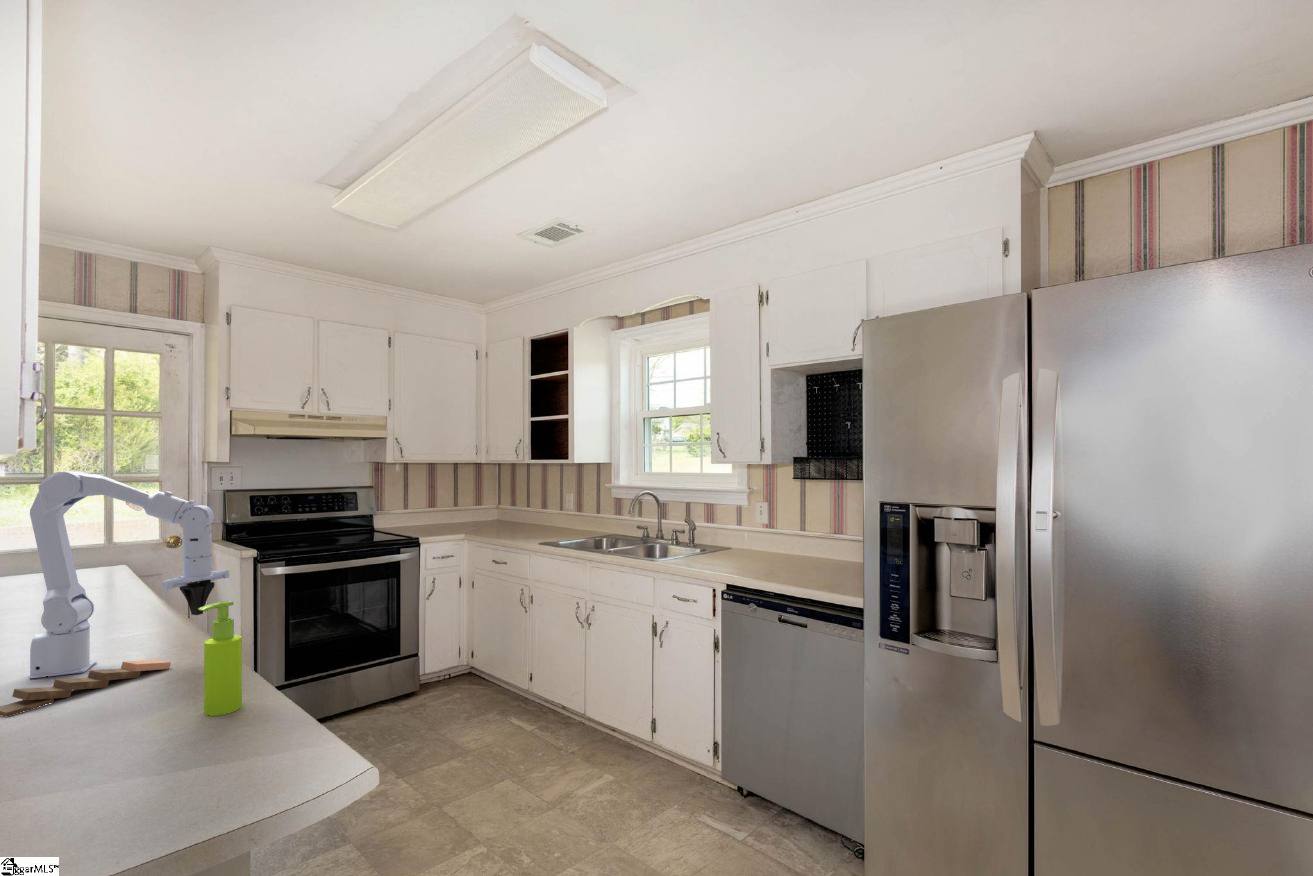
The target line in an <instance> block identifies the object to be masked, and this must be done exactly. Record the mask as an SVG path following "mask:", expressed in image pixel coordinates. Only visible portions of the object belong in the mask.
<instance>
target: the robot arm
mask: <svg viewBox="0 0 1313 876" xmlns="http://www.w3.org/2000/svg"><path fill="white" fill-rule="evenodd" d="M92 496H106V497H110V498H112V499H115V500H118V501H119V500H120V501H123V502H125V503H129V504H131V505H135V506H138V507H139V506H140V507H142V508H143V510H144V512H145V514H146V515H147V516H150V517H154V518H157V519H159V520H163V521H165V522H169V523H172V524H173V525H178V524H179V526H180V527H181V528H182V540H181V541H182V543H181V544H182V548H181V549H182V554H181V555H182V556H181V557H182V558H181V559H182V560H181V562H182V563H181V564H182V566H181V567H182V568H181V569H182V575H180V576H177V577H173V578H169V579H165V580H162V582H161V583H162V585H161V589H162V590H167V591H168V590H172V589H175V588H179V590H180V592H181V593H182V594H183V596H184V598H185V600H186V602H187V603H188V608H189V610H190V614H191V615H193V616H199V615H203V614H204V611H200V610H198V608H200V607H203V606H205V605H207V601H208V599H209V596H210V594H211V593H212V591H213V589H214V588H215V581H216V580H221V579H222V580H223V579H229V578H230V569H218V570H212V569H213V568H212V566H213V561H212V559H213V556H212V555H213V554H212V552H213V549H212V547H213V543H212V542H213V537H212V536H213V535H212V525H211V524H212V523H213V521H214V520H215V513H214V511H213V509H212V508H211V507H210V506H207V505H206V504H204V503H198V504H195V503H196V501H194V500H192V499H189V500H185V499H183V498H180V497H177V496H174V492H172V491H169V490H168V491H165V492H164V491H158V492H157V491H156V492H155V493H152V494H151V493H148V492H146V491H144V490H141V489H139V488H136V487H133V486H131V485H128V484H125V483H123V482H120V481H117V480H115V479H112V478H110V477H107V476H104V475H102V474H96V473H90V472H88V471H85V470H73V471H57V472H54V473H52V474H50V475H49V476H47V477H46V478H45V479H44V480H43V481H42V482H41V483H40V484H38V492H37V494H36V496H35V498H34V501H33V503H32V505H31V507H30V510H29V517H30V520H31V526H32V530H33V535H34V539H35V543H36V547H37V553H38V555H39V560H40V565H41V569H42V573H43V578H44V579H43V580H44V582H45V587H46V593H45V596H44V598H43V601H42V605H43V613H42V615H41V618H40V623H41V625H42V627H43V628H44V629H45V630H46V631H45V632H39V633H36V634H34V636H33V637H32V640H31V643H30V649H29V652H30V653H29V655H30V657H29V658H30V659H29V660H30V661H29V662H30V663H29V665H30V667H29V675H28V679H29V678H31V679H39V678H45V677H46V676H48V677H56V676H64V675H71V674H80V673H85V672H86V671H87V670H89V669H90V668H91V667H92V666H94V665H95V664H96V663H97V660H96V659H95V660H94V659H93V660H91V659H90V658H91V657H90V655H91V653H90V652H91V649H90V648H91V646H90V645H91V643H90V642H91V641H90V638H91V635H90V634H91V632H90V631H91V629H90V627H91V625H90V622H89V619H90V618H91V617H92V616H93V614H94V613H95V612H94V611H95V604H94V603H93V601H92V600H91V599H90V598H89V596H88V594H87V593H86V589H85V588H84V587H83V585H81V584H80V583H79V580H78V575H77V570H76V566H75V562H74V558H73V553H72V552H73V551H72V549H71V544H70V539H69V535H68V534H69V533H68V531H67V526H66V522H65V521H66V520H65V514H66V513H67V512H68V511H69V510H70V509H71V508H72V507H73V506H74V505H75V504H77V503H79V502H80V501H82V500H83V499H85V498H87V497H92ZM213 581H214V582H213ZM46 678H47V677H46Z"/></svg>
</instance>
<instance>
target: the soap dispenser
mask: <svg viewBox="0 0 1313 876" xmlns="http://www.w3.org/2000/svg"><path fill="white" fill-rule="evenodd" d="M231 606H234V601H230V600H229V601H228V600H226V601H218V602H217V601H216V602H213V603H209V604H205V606H203V607H200V608H198V610H200V611H203V612H208V611H210V610H213V609H217V618H216V619H215V620H213V621H212V622H211V623H212V632H211V633H212V635H211V636H212V637H211V638H208V639H205V640H204V642H203V645H204V647H203V655H204V656H203V657H204V658H203V660H204V661H203V664H204V665H203V666H204V667H203V676H204V677H203V693H204V694H203V713H204V715H205V716H208V715H210V717H214V716H215V715H218V716H223V715H227V714H226V713H228V714H232V713H234V712H237V711H239V710H240V709H241V708H242V707H243V702H242V701H243V698H242V697H243V688H242V687H243V677H242V676H243V673H242V672H243V668H242V667H243V664H242V663H243V655H242V654H243V651H242V650H243V647H242V646H243V638H242V637H243V636H242V635H239V634H235V619H234V618H232V617H230V616H229V609H230V608H229V607H231ZM239 708H240V709H239ZM238 709H239V710H238ZM236 710H237V711H236ZM233 711H234V712H233ZM231 712H232V713H231Z"/></svg>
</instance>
